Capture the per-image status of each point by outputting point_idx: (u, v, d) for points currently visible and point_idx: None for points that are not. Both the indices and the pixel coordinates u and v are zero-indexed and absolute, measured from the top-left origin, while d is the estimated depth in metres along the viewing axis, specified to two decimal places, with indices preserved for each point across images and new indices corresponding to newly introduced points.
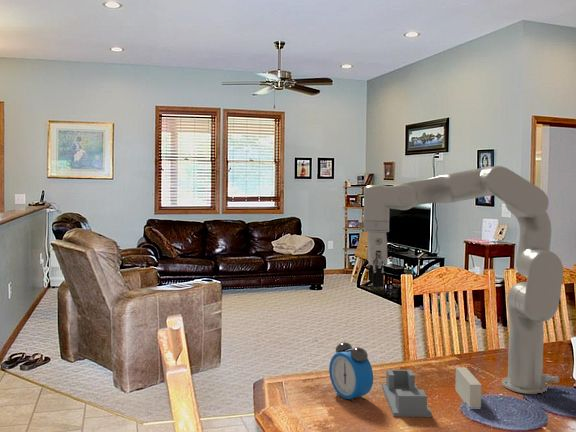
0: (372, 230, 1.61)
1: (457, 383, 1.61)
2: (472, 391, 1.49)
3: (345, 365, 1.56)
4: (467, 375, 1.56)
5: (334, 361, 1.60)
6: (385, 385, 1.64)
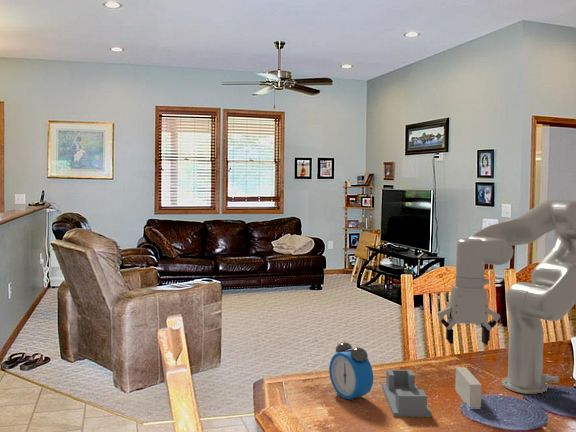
0: (483, 287, 1.53)
1: (457, 383, 1.61)
2: (472, 391, 1.49)
3: (345, 365, 1.56)
4: (467, 375, 1.56)
5: (334, 361, 1.60)
6: (385, 385, 1.64)
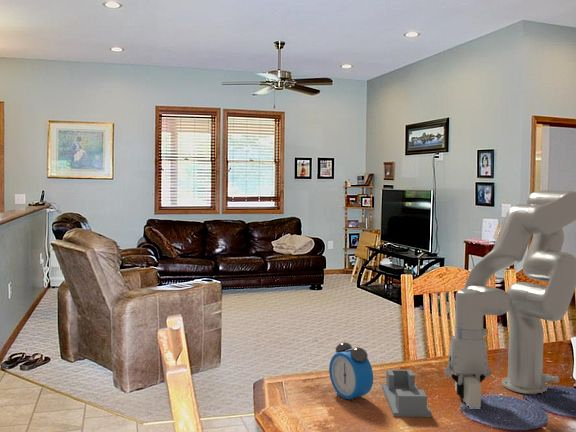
0: (482, 338, 1.54)
1: None
2: (471, 391, 1.49)
3: (345, 365, 1.56)
4: (466, 375, 1.56)
5: (334, 361, 1.60)
6: (385, 385, 1.64)
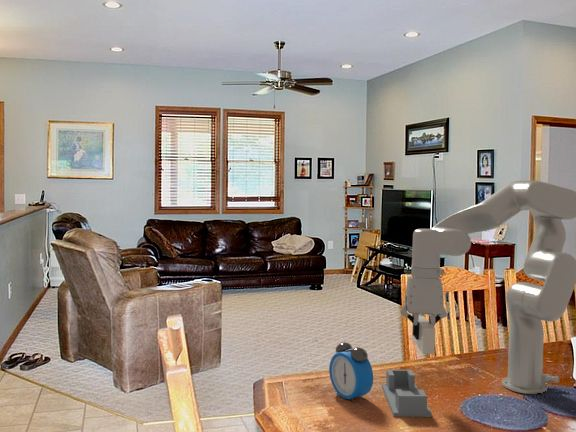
0: (438, 277, 1.52)
1: None
2: (425, 335, 1.47)
3: (345, 365, 1.56)
4: (422, 322, 1.54)
5: (334, 361, 1.60)
6: (385, 385, 1.64)
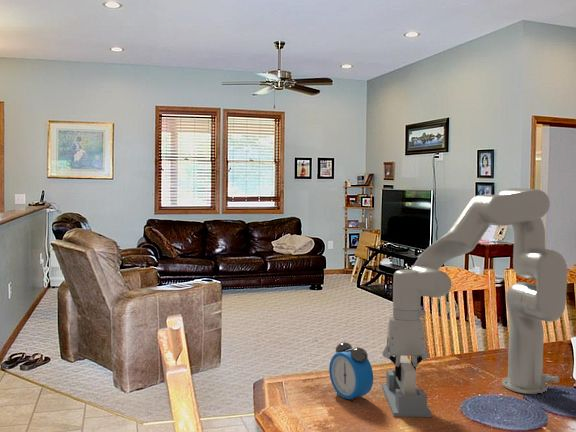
0: (419, 319, 1.52)
1: None
2: (406, 378, 1.48)
3: (345, 365, 1.56)
4: (404, 363, 1.54)
5: (334, 361, 1.60)
6: (385, 385, 1.64)
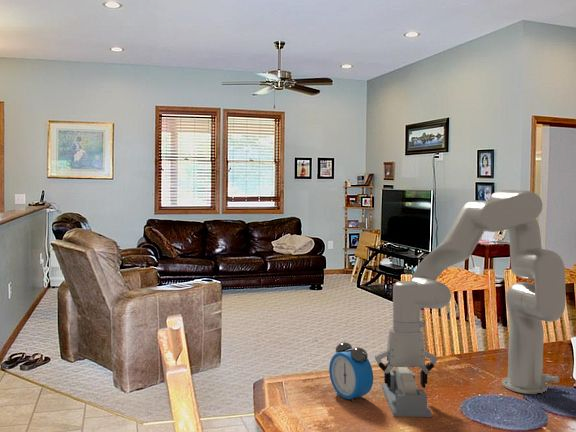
0: (419, 330, 1.52)
1: (397, 381, 1.60)
2: (406, 389, 1.48)
3: (345, 365, 1.56)
4: (404, 373, 1.54)
5: (334, 361, 1.60)
6: (385, 385, 1.64)
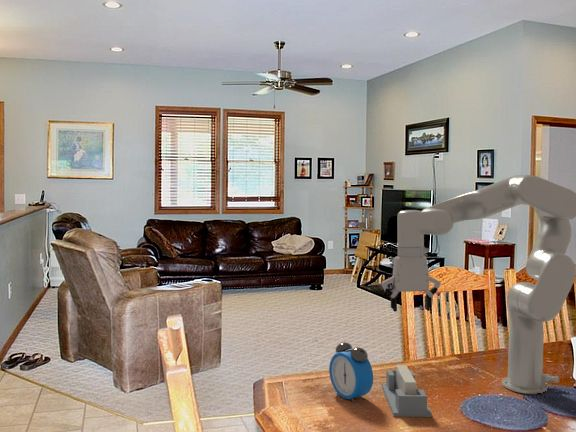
0: (423, 256, 1.60)
1: (397, 381, 1.60)
2: (406, 389, 1.48)
3: (345, 365, 1.56)
4: (404, 373, 1.54)
5: (334, 361, 1.60)
6: (385, 385, 1.64)
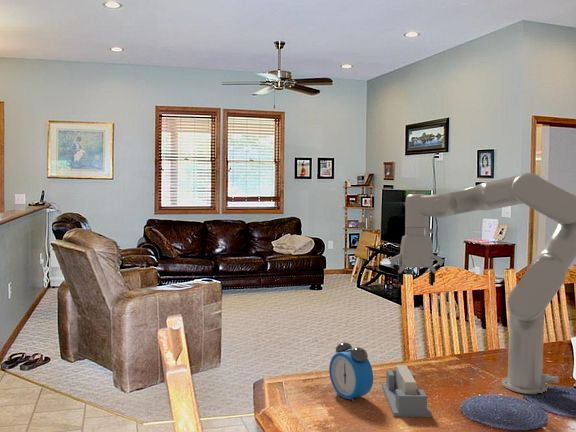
0: (428, 235, 1.77)
1: (397, 381, 1.60)
2: (406, 389, 1.48)
3: (345, 365, 1.56)
4: (404, 373, 1.54)
5: (334, 361, 1.60)
6: (385, 385, 1.64)
